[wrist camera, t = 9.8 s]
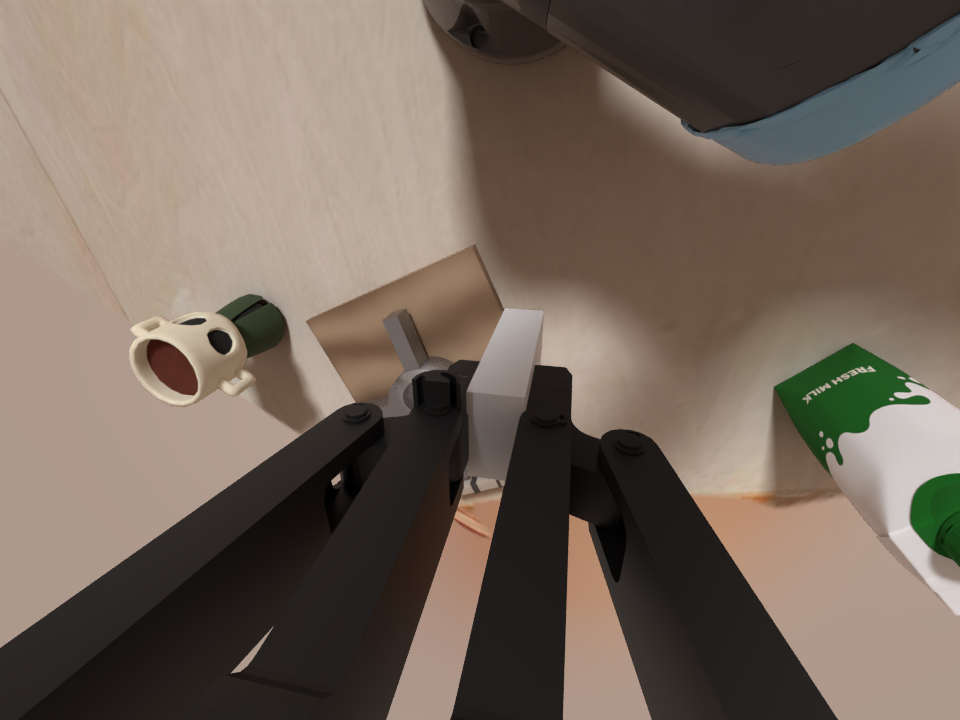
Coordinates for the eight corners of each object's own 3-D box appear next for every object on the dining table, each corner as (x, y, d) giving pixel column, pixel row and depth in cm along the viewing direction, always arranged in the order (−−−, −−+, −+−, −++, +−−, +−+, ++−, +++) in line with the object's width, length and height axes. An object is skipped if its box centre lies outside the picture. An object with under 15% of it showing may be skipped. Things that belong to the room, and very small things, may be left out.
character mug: (315, 323, 48) (231, 378, 36) (293, 369, 51) (210, 433, 40) (227, 265, 47) (114, 304, 35) (211, 316, 50) (102, 366, 39)
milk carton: (858, 328, 37) (1112, 492, 19) (913, 400, 39) (1194, 613, 21) (757, 385, 41) (893, 565, 23) (812, 449, 42) (977, 663, 25)
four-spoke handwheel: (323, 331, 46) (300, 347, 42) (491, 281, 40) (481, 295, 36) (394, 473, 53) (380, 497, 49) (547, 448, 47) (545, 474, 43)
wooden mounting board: (312, 317, 47) (289, 332, 44) (474, 244, 40) (464, 254, 37) (414, 485, 55) (402, 510, 51) (566, 448, 48) (565, 474, 44)
